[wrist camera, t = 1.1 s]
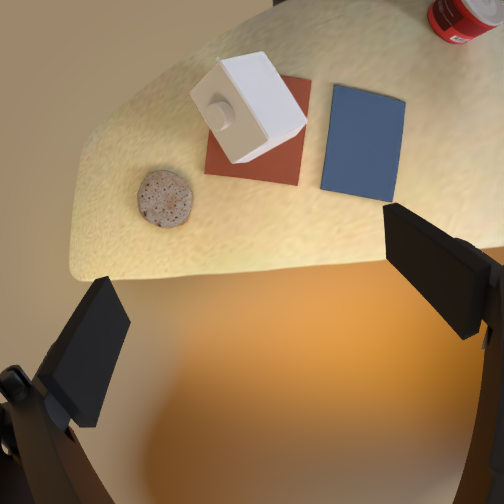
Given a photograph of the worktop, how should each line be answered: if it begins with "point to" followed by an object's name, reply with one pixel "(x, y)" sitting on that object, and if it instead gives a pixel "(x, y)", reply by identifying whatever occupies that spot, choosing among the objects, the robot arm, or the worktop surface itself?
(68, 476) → the robot arm
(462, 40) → the canned food
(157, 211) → the flatbread
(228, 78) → the milk carton
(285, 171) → the terracotta mat
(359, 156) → the slate-blue mat
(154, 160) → the worktop surface
